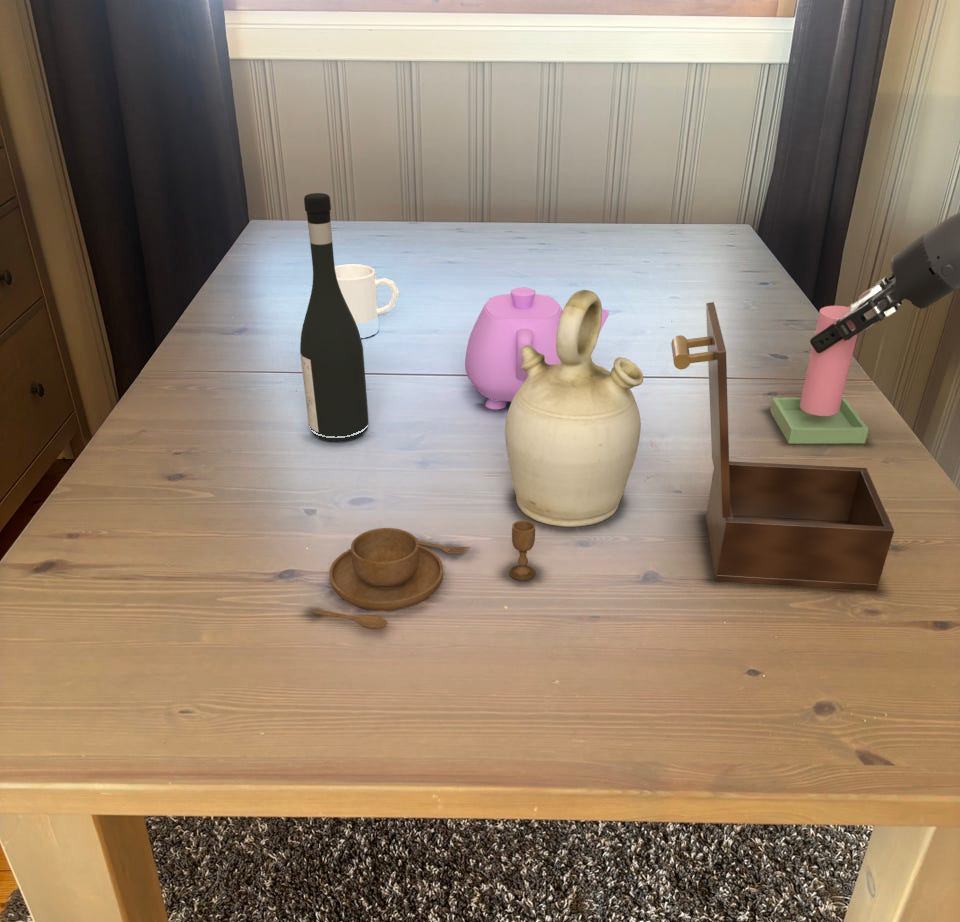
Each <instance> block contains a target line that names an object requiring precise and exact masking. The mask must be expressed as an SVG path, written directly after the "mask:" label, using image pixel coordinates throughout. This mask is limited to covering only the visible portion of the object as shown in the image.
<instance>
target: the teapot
mask: <svg viewBox="0 0 960 922" xmlns="http://www.w3.org/2000/svg"><path fill="white" fill-rule="evenodd" d="M562 311H563V307H562V306H561V304H560V303H559V302H558V301H557V300H556V299H555V298H553V297H551V296H550V295H546V294H539V293H536V290H535V289H532V288H530V287H516V288H512V289H511V290H510V293H506V294H505V293H503V294H498V295H495V296H492V297H490V298H489V299H488V300H487V301H486V302H485V304H484V306H483V307H482V309H481V311H480V313H479V315H478V316H477V319H476V321H475V323H474V325H473V327H472V330H471V332H470V335H469V338H468V341H467V346H466V351H465V358H464V359H465V360H464V369H465V373H466V376H467V378H468V380H469V381H470V382H471V384H472V385H473V387H474V388H475V389H476V391H477V392H478V393H479V394H481V395H482V396H483V397H485V398H487V400H486V402H485V404H484V406H485V407H486V408H487V409H490V410H501V409H505V408H506V407H507V404H508V402H510V403H511V402H512V400H513V398H514V396H515V395H516V393H517V391H518V390H519V388H520V387H521V385H522V384H523V383H524V382H525V380H526V379H527V372H526V371H524V370H522V368H521V366H522V364H523V359H522V354H521V350H522V348H523V347H524V346H525V345H530V346H532V347H533V348H534V349H535V350H536V351H537V352H538V353H541V354H543V355H544V356H545V362H546V363H547V364H549V365H552V364H560V363H561V361H560V359H559V358H558V355H557V350H556V337H557V329H558V325H559V321H560V317H561V314H562ZM609 314H610V313H609V310H608V309H603V308H602V322H601V328H600V332H601V331H602V329H603V327H604V324H605V323H606V321H607V319H608V317H609ZM489 398H490V399H489ZM491 399H493V400H499V401H493V400H491Z"/></svg>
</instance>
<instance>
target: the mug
mask: <svg viewBox="0 0 960 922" xmlns="http://www.w3.org/2000/svg"><path fill="white" fill-rule="evenodd" d="M335 273H336V277H337V281H338V284H339V287H340V290H341V292H342V295H343V297H344V299H345V301H346V304H347V306H348V308H349V310H350V312H351V314H352V316H353V318H354V320H355V322H356V324H358V323H365V322H369V321H371V320H373V319H375V318H377V316H378V317H379V315H382V314H385V313H387V312H389V311H391V310H393V309H394V307H395V305H396V302H397V301H398V298H399V295H400V294H401V292H400V289H399V288H398V286H397V284H396V282H395V281H394V280H392V279H389V278H387V277H382V278H378V279H377V273H376V270H375V269H374V268H373V267H372V266H370V265H366V264H360V263H359V264H358V263H346V264H339V265H335ZM380 285H382V286H386V287H388V288H389V289H390V291H391V293H392V295H391V298H390V300H389V302H388V303H387V304H385V305H384V306H382V307H379V304H378V289H377V287H378V286H380Z"/></svg>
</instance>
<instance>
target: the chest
mask: <svg viewBox="0 0 960 922" xmlns="http://www.w3.org/2000/svg"><path fill="white" fill-rule="evenodd" d="M729 475H730V512H731V517H726V518H723V517H722V511H721V506H720V500H719V494H718V489H717V483H716V477H715V471H714V469H713V471H712V476H711V483H710V489H709V494H708V495H709V496H708V502H707V508H706V515H705V519H706V525H707V533H708V539H709V540H708V541H709V546H710V554H711V558H712V559H711V561H712V567H713V573H714V580H715V582H721V583H722V582H723V583H724V582H725V583H738V584H739V583H742V584H755V585H756V584H758V585H774V586H775V585H776V586H793V587H809V588H824V589H826V588H827V589H843V590H860V591H877V590H878V587H879V584H880V581H881V577H882V573H883V571H884V566H885V565H886V560H887V557H888V554H889V550H890V547H891V543H892V540H893V537H894V534H895V529H894V527H893V525H892V522H891V521H890V518H889V516H888V513H887V511H886V509H885V507H884V504H883V502H882V500H881V498H880V495H879V493H878V491H877V489H876V487H875V485H874V482H873V479H872V477H871V475H870V473H869V469H868V468H866V467H857V466H856V467H853V466H834V465H813V464H795V463H794V464H790V463H774V462H773V463H772V462H771V463H769V462H751V461H730V460H729Z"/></svg>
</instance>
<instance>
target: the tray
mask: <svg viewBox="0 0 960 922" xmlns="http://www.w3.org/2000/svg"><path fill="white" fill-rule="evenodd" d="M800 401H801V397H772V399H771V405H770V410H769V412H770V414H771V416H772V418H773V419H774V421H775V423H776V424H777V427H778V428H779V430H780V431H781V433H782V435H783V436H784V438H785V441H786V442H787V444H788V445H789V444H792V445H793V444H803V445H805V444H806V445H807V444H815V445H817V444H826V445H827V444H831V445H832V444H866V441H867V438H868V435H869V430H870V429H869V427H868V426H867V424H866V423H865V422H864V421H863V419H862V418H861V416H860V415H859V413H858V412H857V410H855V408H854V407H853V406H852V404H851V403H850V402H849V400H848V399H847V398H846V397H844V396H843V398H842V402H841V406H840V410H839V412H838V413H837V414H835V415H832V416H817V415H812V414H809V413H806V412H804V411H803V410H802V409H801V408H800Z"/></svg>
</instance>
